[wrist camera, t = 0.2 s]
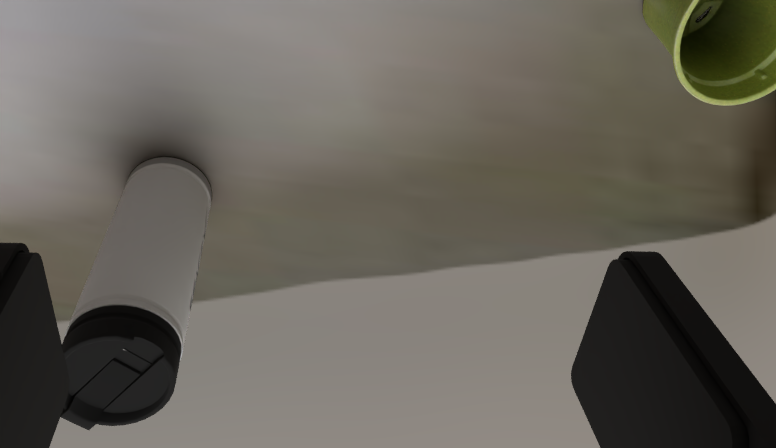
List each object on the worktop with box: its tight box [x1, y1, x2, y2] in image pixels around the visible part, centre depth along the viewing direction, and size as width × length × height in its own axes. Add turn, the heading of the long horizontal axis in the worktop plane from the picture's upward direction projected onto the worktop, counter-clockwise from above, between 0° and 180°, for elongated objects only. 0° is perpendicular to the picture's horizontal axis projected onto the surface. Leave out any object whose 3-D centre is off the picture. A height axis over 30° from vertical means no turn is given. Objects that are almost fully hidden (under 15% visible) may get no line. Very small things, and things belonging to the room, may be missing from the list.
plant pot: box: [643, 0, 776, 105], centre depth 43 cm, size 9×9×9 cm
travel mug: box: [60, 157, 212, 430], centre depth 42 cm, size 6×7×20 cm
